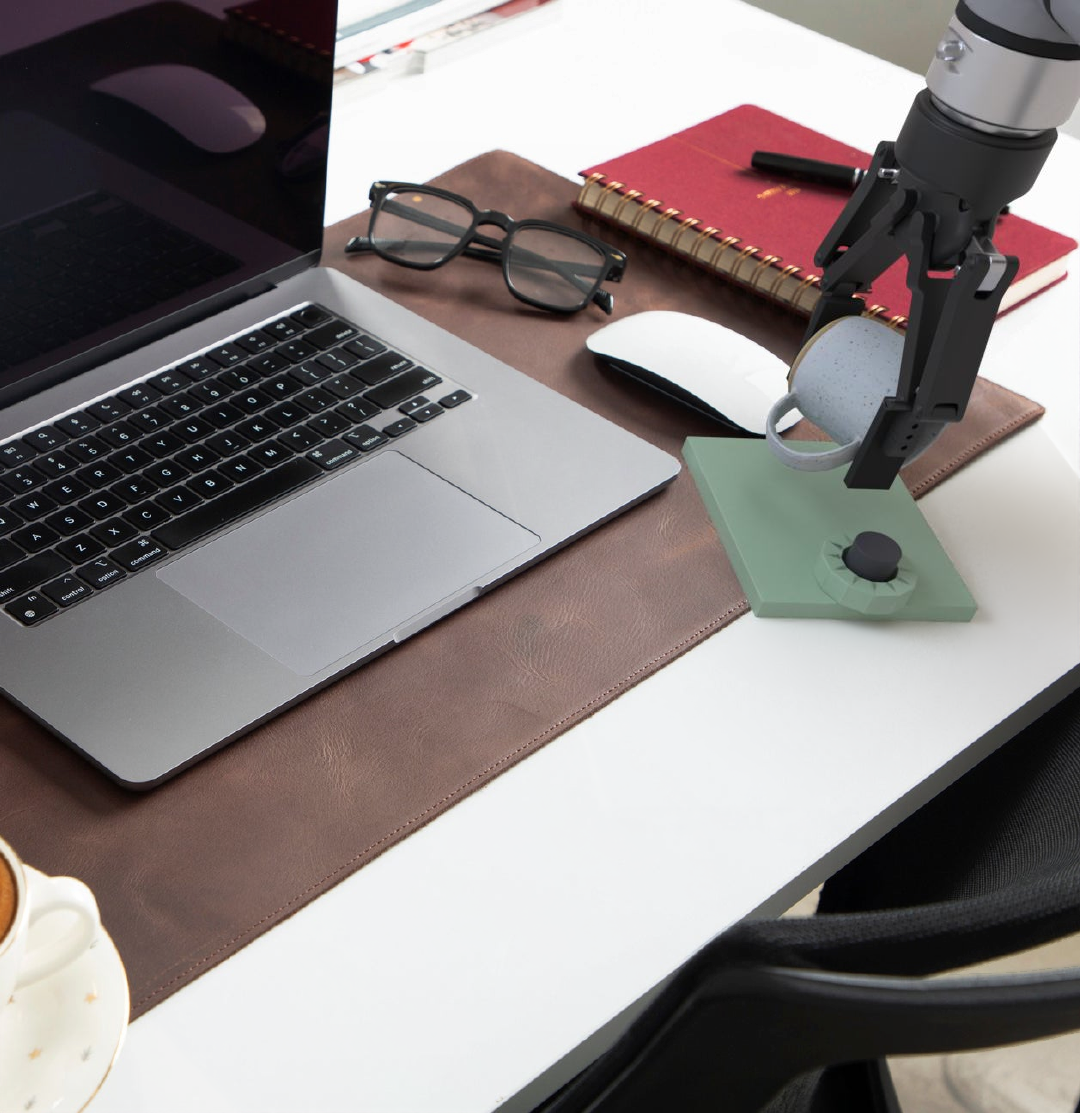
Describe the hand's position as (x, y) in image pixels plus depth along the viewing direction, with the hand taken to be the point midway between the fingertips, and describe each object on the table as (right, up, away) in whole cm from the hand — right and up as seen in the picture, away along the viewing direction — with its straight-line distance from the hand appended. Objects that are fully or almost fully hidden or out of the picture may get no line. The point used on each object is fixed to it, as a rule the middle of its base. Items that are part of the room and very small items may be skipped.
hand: (835, 431), depth 93 cm
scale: (0, -6, +2) cm, 7 cm away
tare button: (0, -9, -4) cm, 10 cm away
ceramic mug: (0, -1, 0) cm, 1 cm away
